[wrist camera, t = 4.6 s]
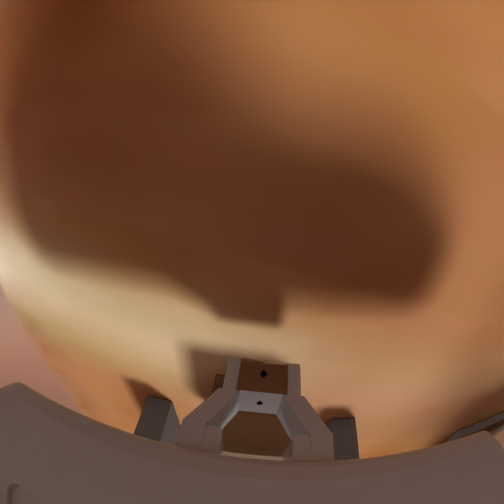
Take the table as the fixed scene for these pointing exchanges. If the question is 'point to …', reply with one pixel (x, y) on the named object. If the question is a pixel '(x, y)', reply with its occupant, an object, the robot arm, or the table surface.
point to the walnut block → (253, 434)
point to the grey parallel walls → (168, 427)
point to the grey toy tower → (481, 427)
